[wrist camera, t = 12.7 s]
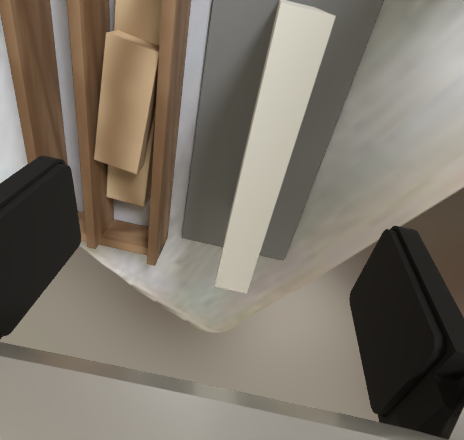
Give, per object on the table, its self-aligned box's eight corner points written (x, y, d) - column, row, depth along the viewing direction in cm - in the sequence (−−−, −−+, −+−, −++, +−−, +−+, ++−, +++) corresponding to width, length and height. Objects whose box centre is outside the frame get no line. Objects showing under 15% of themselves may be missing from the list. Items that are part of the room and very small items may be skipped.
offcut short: (166, 48, 29) (159, 53, 27) (144, 164, 36) (136, 174, 34) (117, 29, 29) (106, 32, 27) (103, 150, 36) (94, 159, 34)
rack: (204, -136, 24) (188, -165, 20) (167, 238, 45) (154, 265, 41) (16, -182, 24) (-44, -222, 20) (65, 215, 45) (42, 240, 40)
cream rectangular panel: (313, 7, 28) (335, 16, 18) (254, 215, 41) (246, 293, 30) (279, -2, 28) (280, 3, 17) (231, 209, 41) (214, 286, 30)
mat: (408, -68, 25) (410, -69, 25) (283, 258, 45) (283, 260, 44) (228, -111, 25) (228, -113, 25) (182, 235, 44) (181, 237, 44)
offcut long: (183, -38, 28) (175, -41, 26) (151, 194, 42) (143, 207, 40) (132, -55, 28) (118, -59, 26) (116, 184, 42) (106, 196, 39)
